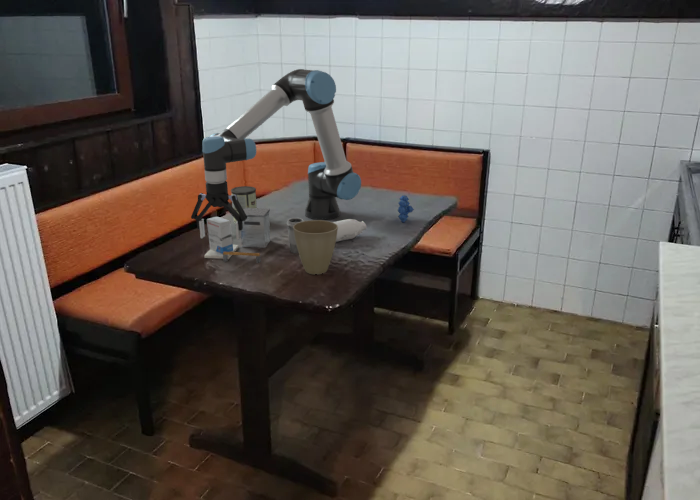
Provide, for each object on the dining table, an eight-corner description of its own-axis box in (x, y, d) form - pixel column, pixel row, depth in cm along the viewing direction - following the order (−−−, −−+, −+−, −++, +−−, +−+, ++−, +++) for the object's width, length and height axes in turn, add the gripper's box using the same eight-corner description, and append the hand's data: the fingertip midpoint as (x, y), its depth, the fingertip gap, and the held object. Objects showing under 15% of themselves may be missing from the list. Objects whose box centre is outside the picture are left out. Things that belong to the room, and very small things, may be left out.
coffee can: (236, 217, 268) (234, 185, 263) (260, 218, 267) (258, 186, 262) (230, 224, 259) (227, 192, 254) (254, 225, 258) (252, 192, 253)
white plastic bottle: (369, 238, 243) (370, 219, 240) (329, 247, 233) (328, 227, 230) (358, 232, 249) (358, 214, 246) (318, 241, 239) (317, 221, 236)
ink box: (233, 251, 226) (231, 220, 222) (222, 254, 223) (220, 223, 219) (219, 245, 232) (217, 215, 228) (208, 248, 228) (205, 218, 224)
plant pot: (342, 277, 206) (341, 231, 200) (297, 280, 203) (296, 235, 197) (333, 261, 220) (333, 218, 214) (292, 264, 217) (290, 221, 211)
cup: (285, 249, 231) (283, 218, 227) (301, 246, 233) (301, 216, 229) (291, 255, 225) (289, 224, 220) (308, 252, 227) (307, 221, 223)
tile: (238, 247, 233) (238, 244, 232) (228, 258, 221) (228, 256, 221) (215, 246, 234) (215, 243, 233) (204, 257, 222) (204, 255, 222)
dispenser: (275, 240, 240) (274, 208, 235) (259, 263, 218) (257, 228, 213) (242, 239, 241) (240, 207, 237) (223, 261, 219) (220, 227, 215)
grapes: (410, 227, 255) (411, 199, 251) (394, 225, 257) (395, 197, 253) (416, 219, 266) (417, 191, 261) (400, 217, 267) (401, 190, 263)
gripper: (253, 179, 220) (256, 235, 228) (186, 177, 223) (191, 233, 230) (247, 184, 213) (251, 242, 221) (178, 182, 216) (184, 239, 223)
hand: (220, 237), depth 226 cm, fingers open, 13 cm apart
